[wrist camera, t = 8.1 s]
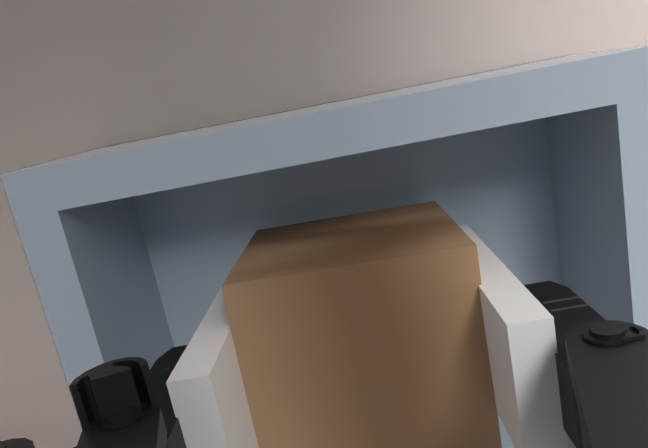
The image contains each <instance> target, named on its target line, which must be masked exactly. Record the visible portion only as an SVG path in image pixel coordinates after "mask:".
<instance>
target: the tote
mask: <svg viewBox="0 0 648 448" xmlns="http://www.w3.org/2000/svg"><path fill="white" fill-rule="evenodd" d="M0 177H1V181H2V184H3V187H4V190H5V193H6V196H7V199H8V202H9V205H10V208H11V211H12V214H13V217H14V221H15V224H16V227H17V230H18V233H19V236H20V239H21V242H22V245H23V248H24V251H25V254H26V257H27V261H28V264H29V267H30V270H31V273H32V276H33V279H34V282H35V285H36V288H37V291H38V294H39V297H40V301H41V304H42V307H43V310H44V313H45V316H46V319H47V322H48V325H49V328H50V331H51V334H52V338H53V341H54V344H55V347H56V350H57V353H58V356H59V359H60V362H61V365H62V368H63V371H64V374H65V378H66V381H67V384H68V387H69V385H70V384H71V383H72V382H73V381H74V379H75V378H77V377H78V376H80V375H81V374H83V373H84V372H85V371H87V370H89V369H92V368H94V367H96V366H98V365H100V364H103V363H106V362H109V361H112V360H116V359H121V358H126V357H140V358H143V359H146V360H147V363H148V366H149V369H151V367H152V366H153V364H154V363H155V361H156V360H157V359H158V358H159V357H160V356H162V355H163V354H164V353H166V352H167V351H168V350H170V349H171V348H172V347H178V346H184V345H188V344H189V342H190V340H191V339H192V337H193V335H194V333H195V332H196V330H197V328H198V327H199V325H200V323H201V321H202V320H203V318H204V316H205V315H206V313H207V311H208V310H209V308H210V306H211V304H212V303H213V301H214V299H215V298H216V296H217V294H218V292H219V291H220V289H221V286H222V284H223V283H224V281H225V279H226V278H227V276H228V275H229V273H230V271H231V270H232V268H233V267H234V265H235V264H236V262H237V260H238V259H239V257H240V256H241V254H242V253H243V251H244V249H245V248H246V246H247V245H248V243H249V241H250V240H251V238H252V237H253V235H254V234H255V232H256V230H261V229H267V228H273V227H279V226H285V225H291V224H297V223H303V222H309V221H315V220H321V219H327V218H333V217H339V216H345V215H351V214H357V213H363V212H369V211H375V210H381V209H387V208H393V207H399V206H405V205H411V204H417V203H424V202H430V201H435V202H436V203H437V204H438V205H439V206H440V207H441V208H442V209H443V210H444V211H445V212H446V213H447V214H448V215H449V216H450V217H451V218H452V220H453V221H454V222H455V223H456V224H457V225H458V226H461V225H466V224H467V225H468V226H469V228H470V229H471V230H472V231H473V232H474V233H475V234H476V235H477V236H478V237H479V238H480V239H481V240H482V241H483V242H484V244H485V245H486V246H487V247H488V248H489V249H490V250H491V251H492V252H493V253H494V254H495V255H496V256H497V257H498V258H499V259H500V261H501V262H502V263H503V264H504V265H505V266H506V267H507V268H508V269H509V270H510V271H511V272H512V273H513V274H514V275H515V277H516V278H517V279H518V280H519V281H520V282H521V283H522V284H523V285H527V284H532V283H538V282H544V281H552V282H555V283H558V284H561V285H564V286H567V287H568V288H570V289H571V290H572V291H573V292H574V293H575V294H576V295H578V298H581V299H582V300H583V301H585V302H586V303H587V305H589V306H590V307H591V308H593V309H594V310H595V311H596V312H597V313H598V314H599V315H601V316H602V317H603V318H604V319H605V320H614V321H623V322H629V323H634V324H637V325H639V326H642V327H644V328H646V329H647V330H648V46H642V47H634V48H626V49H618V50H609V51H601V52H593V53H585V54H577V55H569V56H563V57H558V58H553V59H548V60H543V61H538V62H533V63H528V64H523V65H518V66H513V67H508V68H503V69H498V70H492V71H487V72H482V73H477V74H472V75H467V76H462V77H457V78H452V79H447V80H442V81H437V82H432V83H427V84H422V85H417V86H412V87H407V88H401V89H396V90H391V91H386V92H381V93H376V94H371V95H366V96H361V97H356V98H351V99H346V100H341V101H336V102H331V103H326V104H321V105H316V106H310V107H305V108H300V109H295V110H290V111H285V112H280V113H275V114H270V115H265V116H260V117H255V118H250V119H245V120H240V121H235V122H230V123H224V124H219V125H214V126H209V127H204V128H199V129H194V130H189V131H184V132H179V133H174V134H169V135H164V136H159V137H154V138H149V139H144V140H139V141H133V142H128V143H123V144H118V145H113V146H108V147H103V148H98V149H93V150H90V151H86V152H82V153H78V154H75V155H71V156H67V157H63V158H60V159H56V160H52V161H49V162H45V163H41V164H37V165H34V166H30V167H26V168H22V169H19V170H15V171H11V172H7V173H4V174H0ZM69 390H70V388H69ZM70 393H71V392H70ZM71 396H72V395H71ZM72 399H73V398H72ZM73 402H74V401H73ZM74 405H75V404H74ZM75 408H76V407H75ZM76 411H77V410H76ZM77 414H78V413H77ZM78 418H79V417H78ZM498 420H499V428H500V436H501V444H502V448H515V447H514V445H513V443H512V441H511V439H510V436H509V434H508V432H507V430H506V428H505V426H504V424H503V422H502V420H501V418H500V416H499V414H498ZM79 421H80V420H79ZM80 424H81V423H80ZM81 427H82V426H81ZM82 430H83V429H82ZM567 440H568V448H576V447H575V445H574V444H573V442H572V441H571V439H570V438H569V436H568V435H567Z"/></svg>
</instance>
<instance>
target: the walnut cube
mask: <svg viewBox="0 0 648 448" xmlns="http://www.w3.org/2000/svg"><path fill="white" fill-rule="evenodd" d="M479 285H482V284H481V276H480V268H479V260H478V252H477V245H476V244H475V243H474V242H473V241H472V240H471V239H470V237H469V236H468V235H467V234H466V233H465V232H464V231H463V230H462V229H461V228H460V227H459V226H458V225H457V224H456V223H455V222H454V221H453V220H452V218H451V217H450V216H449V215H448V214H447V213H446V212H445V211H444V210H443V209H442V208H441V207H440V206H439V205H438V204H437V203H436V202H435V201H430V202H424V203H417V204H411V205H405V206H399V207H393V208H387V209H381V210H375V211H369V212H363V213H357V214H351V215H345V216H339V217H333V218H327V219H321V220H315V221H309V222H303V223H297V224H291V225H285V226H279V227H273V228H267V229H261V230H256V232H255V234H254V235H253V237H252V238H251V240H250V241H249V243H248V245H247V246H246V248H245V249H244V251H243V253H242V254H241V256H240V257H239V259H238V260H237V262H236V264H235V265H234V267H233V268H232V270H231V271H230V273H229V275H228V276H227V278H226V279H225V281H224V283H223V284H222V286H221V288H222V292H223V297H224V301H225V306H226V310H227V315H228V319H229V324H230V328H231V333H232V337H233V342H234V347H235V351H236V355H237V359H238V364H239V368H240V372H241V376H242V380H243V384H244V389H245V393H246V397H247V401H248V405H249V409H250V413H251V418H252V422H253V426H254V430H255V434H256V438H257V443H258V447H259V448H502V444H501V436H500V428H499V420H498V412H497V409H496V402H495V395H494V388H493V381H492V374H491V368H490V361H489V354H488V347H487V340H486V333H485V326H484V320H483V313H482V306H481V299H480V292H479Z"/></svg>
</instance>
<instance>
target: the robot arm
mask: <svg viewBox="0 0 648 448" xmlns="http://www.w3.org/2000/svg"><path fill="white" fill-rule="evenodd" d="M459 227H460V228H461V229H462V230H463V231H464V232H465V233H466V234H467V235H468V236H469V237H470V239H471V240H472V241H473V242H474V243H475V244H476V245H477V252H478V260H479V268H480V276H481V284H482V285H479V292H480V299H481V306H482V313H483V320H484V326H485V333H486V340H487V347H488V354H489V361H490V368H491V374H492V381H493V388H494V395H495V402H496V409H497V412H498V414H499V416H500V418H501V420H502V422H503V424H504V426H505V428H506V430H507V432H508V434H509V436H510V439H511V441H512V443H513V445H514V447H515V448H568V440H567V435H568V436H569V438H570V439H571V441H572V442H573V444H574V445H575V447H576V448H648V330H647V329H646V328H644V327H642V326H639V325H637V324H634V323H629V322H623V321H614V320H605V319H604V318H603V317H602V316H601V315H599V314H598V313H597V312H596V311H595V310H594V309H593V308H591V307H590V306H589V305H587V303H586V302H585V301H583V300H582V299H581V298H578V295H576V294H575V293H574V292H573V291H572V290H571V289H570V288H568V287H567V286H564V285H561V284H558V283H555V282H552V281H544V282H538V283H532V284H527V285H523V284H522V283H521V282H520V281H519V280H518V279H517V278H516V277H515V275H514V274H513V273H512V272H511V271H510V270H509V269H508V268H507V267H506V266H505V265H504V264H503V263H502V262H501V261H500V259H499V258H498V257H497V256H496V255H495V254H494V253H493V252H492V251H491V250H490V249H489V248H488V247H487V246H486V245H485V244H484V242H483V241H482V240H481V239H480V238H479V237H478V236H477V235H476V234H475V233H474V232H473V231H472V230H471V229H470V228H469V226H468V225H467V224H466V225H461V226H459ZM69 388H70V392H71V395H72V398H73V401H74V404H75V407H76V410H77V413H78V417H79V420H80V423H81V426H82V429H83V430H82V433H81V436H80V439H79V442H78V445H77V446H76V447H74V448H259V447H258V443H257V438H256V434H255V430H254V426H253V422H252V418H251V413H250V409H249V405H248V401H247V397H246V393H245V389H244V384H243V380H242V376H241V372H240V368H239V364H238V359H237V355H236V351H235V347H234V342H233V337H232V333H231V328H230V324H229V319H228V315H227V310H226V306H225V301H224V297H223V292H222V288H221V289H220V291H219V292H218V294H217V296H216V298H215V299H214V301H213V303H212V304H211V306H210V308H209V310H208V311H207V313H206V315H205V316H204V318H203V320H202V321H201V323H200V325H199V327H198V328H197V330H196V332H195V333H194V335H193V337H192V339H191V340H190V342H189V344H188V345H184V346H178V347H172V348H171V349H170V350H168V351H167V352H166V353H164V354H163V355H162V356H160V357H159V358H158V359H157V360H156V361H155V363H154V364H153V366H152V367H151V369H149V366H148V363H147V360H146V359H143V358H140V357H126V358H121V359H116V360H112V361H109V362H106V363H103V364H100V365H98V366H96V367H94V368H92V369H89V370H87V371H85V372H84V373H83V374H81V375H80V376H78V377H77V378H75V379H74V381H73V382H72V383H71V384H70V385H69ZM0 448H35V447H34V444H33V441H31V440H28V439H26V438H18V439H10V440H6V441H2V442H1V441H0Z"/></svg>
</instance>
